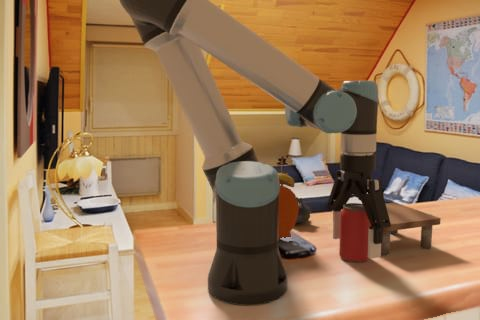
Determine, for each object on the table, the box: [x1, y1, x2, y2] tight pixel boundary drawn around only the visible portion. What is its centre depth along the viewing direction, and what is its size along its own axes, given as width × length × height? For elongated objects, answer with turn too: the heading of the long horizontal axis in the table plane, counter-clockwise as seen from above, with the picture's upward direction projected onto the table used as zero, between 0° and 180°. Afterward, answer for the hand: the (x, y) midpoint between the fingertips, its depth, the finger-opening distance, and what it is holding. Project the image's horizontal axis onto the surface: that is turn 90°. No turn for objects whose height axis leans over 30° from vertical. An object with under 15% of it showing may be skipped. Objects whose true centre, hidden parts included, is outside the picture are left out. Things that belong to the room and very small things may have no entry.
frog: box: [295, 196, 314, 224], centre depth 131 cm, size 10×12×8 cm
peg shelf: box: [375, 202, 442, 256], centre depth 113 cm, size 16×16×8 cm
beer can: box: [338, 202, 371, 263], centre depth 102 cm, size 7×7×12 cm
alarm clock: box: [262, 160, 299, 240], centre depth 113 cm, size 13×6×20 cm, turn 123°
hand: (355, 247), depth 103 cm, fingers open, 13 cm apart
